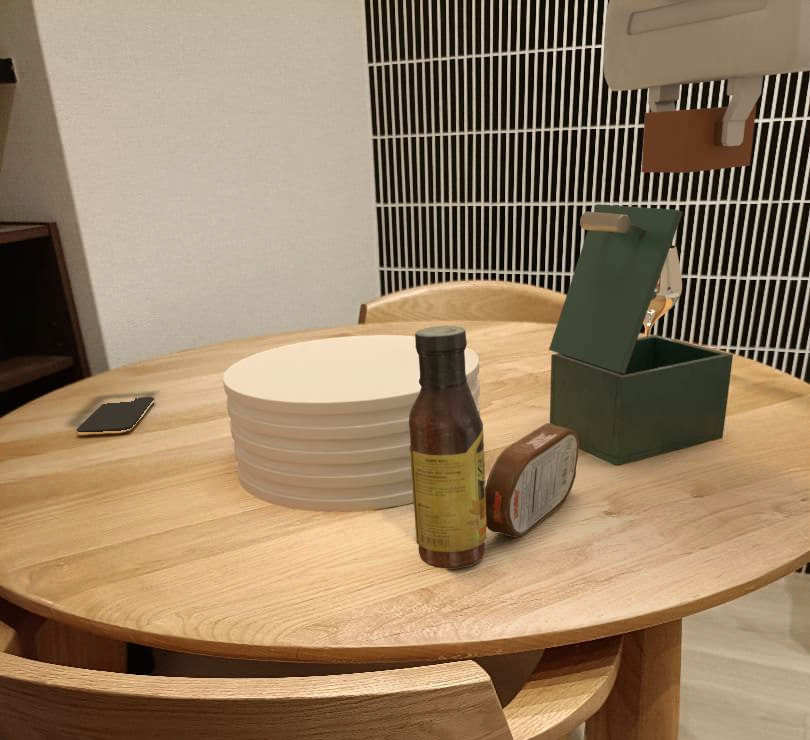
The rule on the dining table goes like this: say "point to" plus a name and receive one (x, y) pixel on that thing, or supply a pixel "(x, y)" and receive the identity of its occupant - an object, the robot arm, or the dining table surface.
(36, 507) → the dining table surface
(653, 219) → the bin lid
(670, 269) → the wineglass
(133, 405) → the phone
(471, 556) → the sauce bottle
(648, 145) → the brown rectangular block
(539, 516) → the tin
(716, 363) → the bin
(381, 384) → the plate stack
